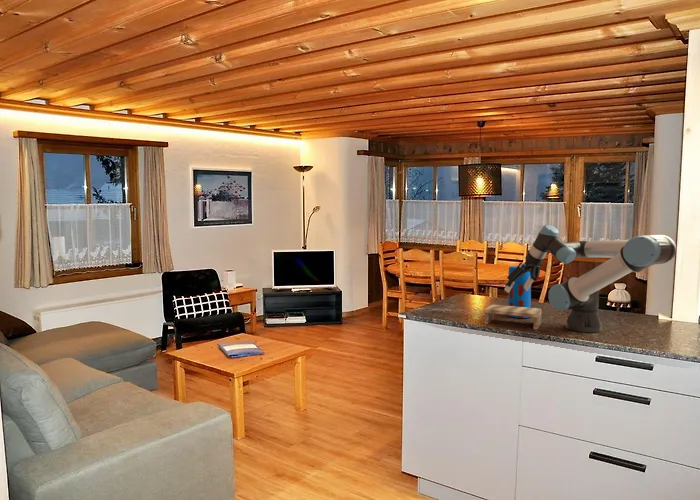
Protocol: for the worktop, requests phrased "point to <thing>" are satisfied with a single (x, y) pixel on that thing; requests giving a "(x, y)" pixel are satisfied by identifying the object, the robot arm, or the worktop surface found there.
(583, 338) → the worktop surface
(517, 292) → the thermos
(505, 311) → the stool
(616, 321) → the worktop surface
